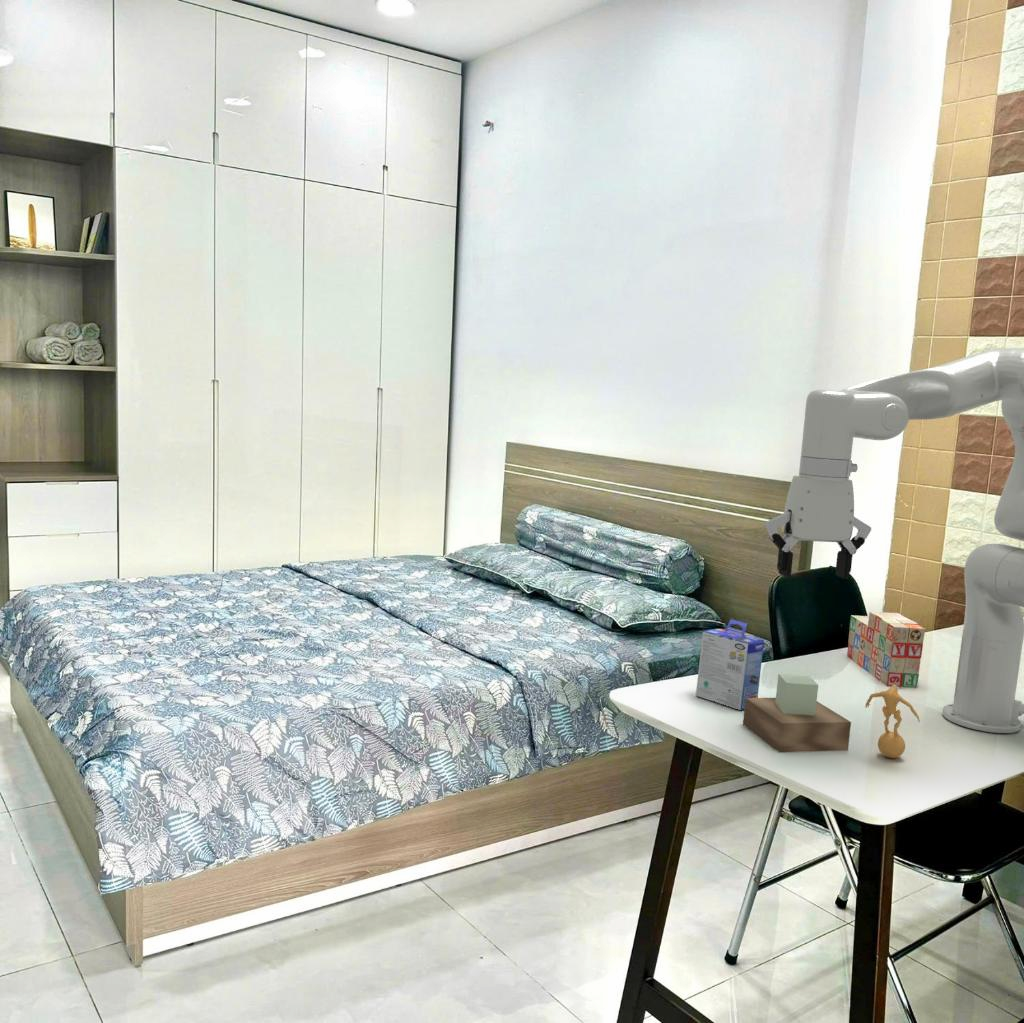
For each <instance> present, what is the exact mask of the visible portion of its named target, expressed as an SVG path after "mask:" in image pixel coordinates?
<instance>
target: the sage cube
mask: <svg viewBox="0 0 1024 1023" xmlns="http://www.w3.org/2000/svg"><path fill="white" fill-rule="evenodd" d="M777 675H778V676H777V685H776V692H775V693H776V694H775V698H776V701H775V703H776V705H777V706H778V707H779V708H780V710H781V711H782V712H783V713H785V714H800V715H815V711H816V702H817V701H818V700H817V699H818V691H819V684H818V683H817V682H816V681H815V680H814V679H813V678H812V677H811V676H810V675H803V674H802V675H801V674H790V673H789V674H786V673H778V674H777Z"/></svg>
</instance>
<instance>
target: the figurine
mask: <svg viewBox="0 0 1024 1023" xmlns="http://www.w3.org/2000/svg"><path fill="white" fill-rule="evenodd" d="M879 697H881V698H882V699H883V700H884V703H885V705H884V706H882V712H883V716H884V718H885V720H884V721H883V724H884V731H885V732H884V733H882V734H881V735H880V736H879V738H878V741H877V748H878V751H879V752H880V753H881V754H882V755H883V756H884V757H886V758H887V759H896V758H899V757H901V756H902V755H903V754H904V752H905V749H906V742H905V740H904V738H903V737H902V736H901V735H900V733H898V729H899V727H900V724H901V722H902V721H903V719H902V717H901V710H900V709H897V706H898V704H899V703H902V704H903V705H905V706H906V707H908V708H909V709H910V711H911V713H912V714H913V715H914V716H915V717H916V719H917V721H918V723H920V717H919V715H918V713H917V711H916V710H915V709H914V707H913V706H912V704H911V703H910V702H908V701H907V700H906V699H904V698H903V697H902V696H901V695H900V694H899V693H898V687H897V686H896V685H892V686H891V687H890V686H889V688H887V690H885V691H884V690H883V691H880V692H875V693H871V694H870V695H869V698H868V699H867V700H866V703H865V706H864V707H865V709H867V708H869V706H871V704H870V703H871V701H872V700H873V698H879ZM892 715H893V718H894V719H895V720H896V722H895V723H894V725H893V731H890V730H889V727H888V725H889V723H890V722H889V721H890V717H891V716H892Z"/></svg>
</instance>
